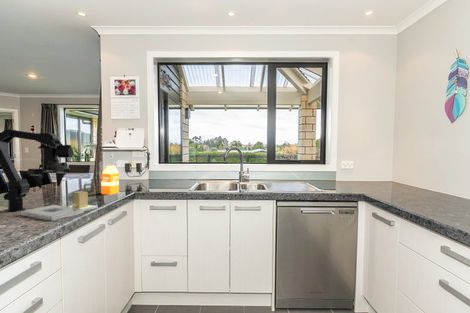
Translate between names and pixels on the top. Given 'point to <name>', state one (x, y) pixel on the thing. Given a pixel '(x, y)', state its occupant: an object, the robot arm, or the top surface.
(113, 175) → the orange juice
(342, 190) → the top surface
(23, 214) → the hole plate
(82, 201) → the tan wooden block
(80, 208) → the pad
